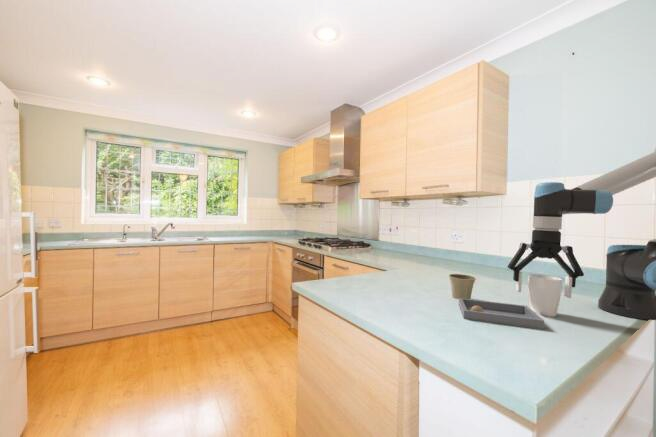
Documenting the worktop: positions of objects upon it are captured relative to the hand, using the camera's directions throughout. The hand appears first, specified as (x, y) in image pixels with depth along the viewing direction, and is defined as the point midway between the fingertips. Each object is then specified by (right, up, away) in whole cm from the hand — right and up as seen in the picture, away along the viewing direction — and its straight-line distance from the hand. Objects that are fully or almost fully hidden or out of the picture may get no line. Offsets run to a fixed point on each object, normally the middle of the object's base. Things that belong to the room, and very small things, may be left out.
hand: (542, 294), depth 93 cm
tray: (-19, -6, -6) cm, 20 cm away
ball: (-26, -5, -7) cm, 27 cm away
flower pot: (-20, -6, +14) cm, 25 cm away
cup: (0, -7, 0) cm, 7 cm away
